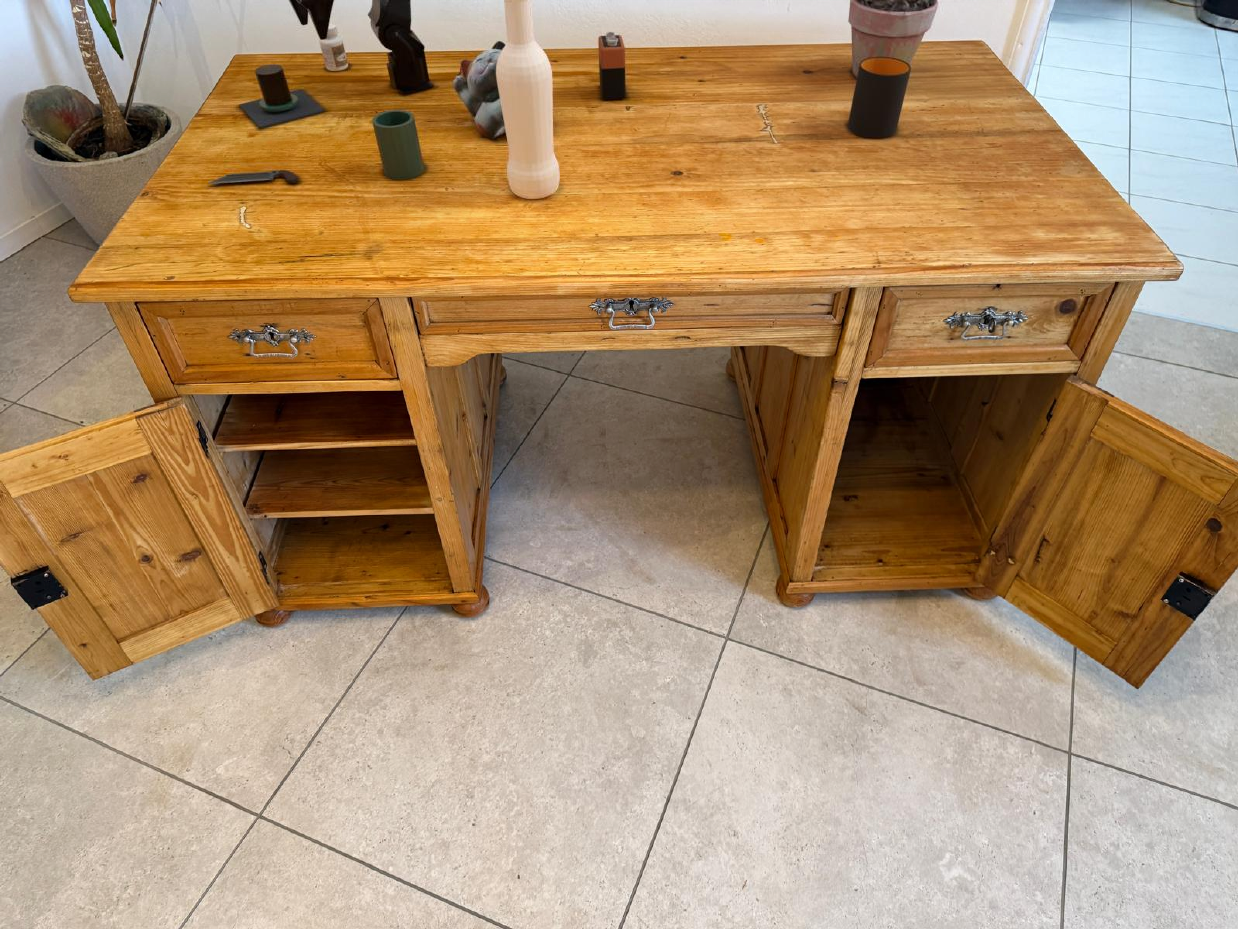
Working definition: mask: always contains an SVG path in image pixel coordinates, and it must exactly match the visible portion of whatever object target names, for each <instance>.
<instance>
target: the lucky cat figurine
mask: <svg viewBox="0 0 1238 929" xmlns="http://www.w3.org/2000/svg"><path fill="white" fill-rule="evenodd" d="M505 45H506V43H504V42H503V41H501V40H498V41H496V42H495V43H494V44H493V46H492V47H491V48H490V49H485V50H484V51H482V52H481V53H480V54H478V55H477V56H476V57H475V58H474V59H467V58H466V59H462V60H460V63H459V64H460V67H459V72H458V74H457V75H455V78H454V79H453V80H452V82H451V83H452V87H453V89H454V91H455V92H456V93H457V95H458V97H459V99H460V101H461V102H462V103H463V104H464V106H465V108H466V109H467V111H468V112H469V113H470V115H471V117H472V118H473V120H474V122H475V124H476V128H477V131H478V133H479V134H480V135H481V136H482V137H485V138H488V139H491V140H495V139H497V137H499V136H501V135H503V134H506V130H505V124H504V119H503V113H502V107H501V102H500V96H499V90H498V84H497V78H496V65H497V61H498V58H499V55H500V53H501V51H502V50H503V48H504V47H505Z"/></svg>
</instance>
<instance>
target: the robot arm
mask: <svg viewBox="0 0 1238 929" xmlns="http://www.w3.org/2000/svg"><path fill="white" fill-rule="evenodd" d="M334 1H335V0H288V2H289V4H290V6H291V7H292V9H293V12H294V13H295V15H296V17H297V20H298V21H299V23H300V26H301V25H302V26H307V25H309V17H310V19H311V21H312V24H313V27H314V29H315V32H316V34H317V36H318V38H319V40H320V39H321V40H324V39H326V38H327V33H328V27H329V23H330V21H331V17H332V16H331V15H332V10H333V6H334ZM411 2H412V1H411V0H371V7H370V10H369V12H368V13H367V16H368V18H369V19H370V28H371V30H372V32H373V34H374V36H375V37H376V38H377V40H378V42H380V45H382V47H384V48H385V49H387V50H389V51H390V52H387V53H386V56H387V60H388V62H386V68H387V72H388V78H389V84H390V86H391V87H393V89H395V90H397V91H398V92H399V93H400V94H401V95H408V94H413V93H417V92H420V91H424V90H427V89H432V88H434V87H435V84H434V83H433V82H432V81H431V80H430V75H429V70H428V63H427V59H426V58H427V57H426V53H425V45H424V43H423V42H422V40H420V38H419V37H418V36H417V34H416V33H415V31H414V30H412V29H411V28H412V5H411V4H412V3H411Z"/></svg>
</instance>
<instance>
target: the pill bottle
mask: <svg viewBox="0 0 1238 929" xmlns="http://www.w3.org/2000/svg"><path fill="white" fill-rule="evenodd" d="M338 34H339V32H338V28H337V25H336V24H335V23H331V22H329V27H328V33H327V38H326V39H324V40H321V39H320V38H319V46H320V49H321V50H320V51H321V54H322V57H323V61H324V66H325V69H326V70H328V71H329V72H340V71H344V70H346V69H347V68H348V67H349V61H348V58H347V53H346V50H345V45H344V41H343V38H342V37H341V36H340V35H338Z"/></svg>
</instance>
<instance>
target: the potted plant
mask: <svg viewBox="0 0 1238 929" xmlns="http://www.w3.org/2000/svg"><path fill="white" fill-rule="evenodd" d="M938 7H939V1H938V0H849V7H848V8H849V9H848V18H847V19H848V20H847V22H848V23H849V25H850V28H851V66H852V69H851V70H852V74H853V76H854V77H855V78H857V74H858V69H859V64H860V62H861V61H862V60H864V59H867V58H870V57H892V58H897V59H900V60H903V61H905V62H907V63H908V64H909V65H910V66H911V64H912V61H913V60H914V58H915V55H916V53H917V51H918V49H919V47H920V45H921V43H922V41H923V38H924V36H925V33H928V31H930V29H931V27H932V25H933V23H934V19H935V15H936V13H937V10H938Z"/></svg>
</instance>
